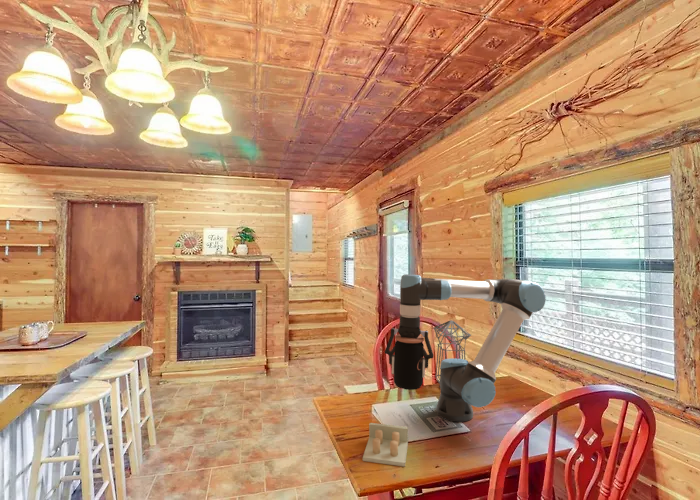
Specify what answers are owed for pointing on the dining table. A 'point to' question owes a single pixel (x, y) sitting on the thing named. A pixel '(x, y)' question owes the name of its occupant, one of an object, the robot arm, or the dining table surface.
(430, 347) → the robot arm
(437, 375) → the geometric lantern
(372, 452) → the peg stand
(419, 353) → the coffee jar
